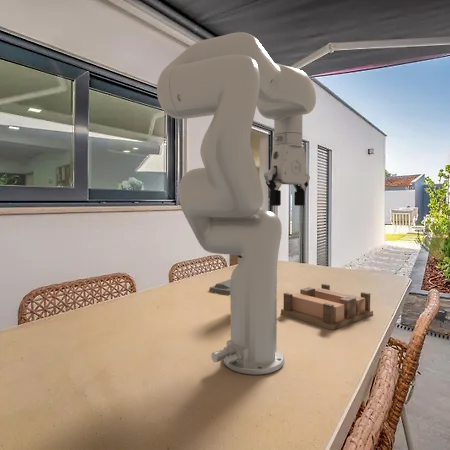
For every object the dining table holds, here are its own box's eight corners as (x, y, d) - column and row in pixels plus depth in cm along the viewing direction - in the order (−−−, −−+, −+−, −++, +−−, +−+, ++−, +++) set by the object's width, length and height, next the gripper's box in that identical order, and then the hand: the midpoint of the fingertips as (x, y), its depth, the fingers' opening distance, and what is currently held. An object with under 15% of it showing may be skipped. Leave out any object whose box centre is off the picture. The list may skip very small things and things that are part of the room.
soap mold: (257, 285, 141) (257, 277, 141) (230, 296, 124) (230, 287, 124) (236, 282, 147) (236, 274, 147) (207, 292, 130) (207, 283, 130)
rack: (332, 330, 89) (333, 306, 89) (281, 313, 103) (281, 292, 103) (373, 314, 101) (373, 293, 101) (321, 301, 116) (321, 283, 115)
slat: (344, 318, 94) (344, 304, 94) (335, 322, 92) (336, 307, 91) (297, 305, 107) (297, 293, 106) (289, 308, 104) (289, 295, 104)
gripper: (276, 136, 85) (275, 205, 86) (319, 143, 96) (318, 205, 97) (255, 140, 91) (255, 205, 92) (298, 147, 101) (297, 205, 102)
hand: (287, 205), depth 94 cm, fingers open, 9 cm apart
